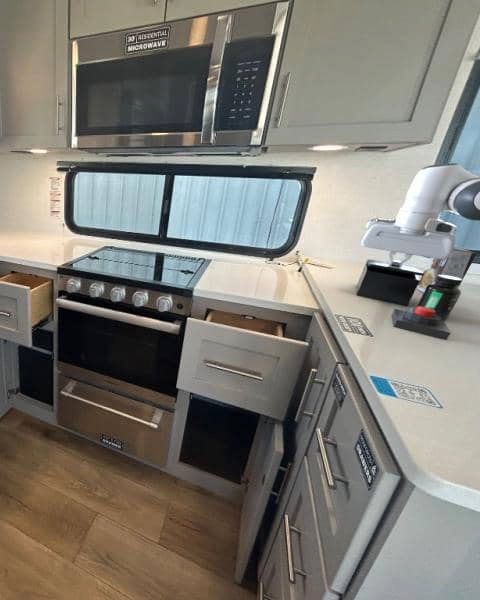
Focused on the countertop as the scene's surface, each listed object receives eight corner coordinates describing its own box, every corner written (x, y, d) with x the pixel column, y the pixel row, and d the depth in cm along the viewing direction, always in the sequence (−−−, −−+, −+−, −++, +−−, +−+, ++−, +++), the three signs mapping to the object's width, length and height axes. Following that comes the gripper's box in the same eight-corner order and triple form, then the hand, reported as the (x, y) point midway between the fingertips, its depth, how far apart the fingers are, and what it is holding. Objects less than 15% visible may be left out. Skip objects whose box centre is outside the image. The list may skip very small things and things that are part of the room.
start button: (431, 315, 87) (434, 309, 86) (433, 319, 84) (436, 313, 84) (413, 310, 89) (416, 305, 88) (414, 314, 86) (417, 308, 86)
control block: (439, 327, 89) (446, 314, 87) (446, 340, 82) (454, 326, 80) (391, 315, 94) (397, 303, 93) (393, 327, 87) (400, 313, 86)
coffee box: (453, 299, 110) (478, 253, 104) (429, 296, 112) (452, 250, 106) (436, 291, 118) (459, 247, 112) (414, 287, 120) (436, 244, 114)
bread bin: (407, 307, 102) (420, 280, 98) (356, 295, 109) (366, 270, 105) (402, 294, 113) (414, 269, 109) (357, 284, 120) (366, 261, 117)
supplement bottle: (427, 320, 93) (448, 280, 88) (407, 310, 99) (426, 272, 95) (453, 322, 92) (475, 282, 88) (432, 312, 99) (452, 274, 94)
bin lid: (422, 275, 97) (424, 273, 97) (368, 266, 104) (369, 263, 104) (414, 269, 109) (415, 267, 109) (366, 261, 117) (367, 259, 116)
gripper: (370, 217, 101) (353, 260, 107) (465, 229, 90) (440, 276, 95) (370, 216, 106) (353, 257, 111) (460, 226, 94) (437, 272, 100)
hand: (394, 266), depth 103 cm, fingers closed
